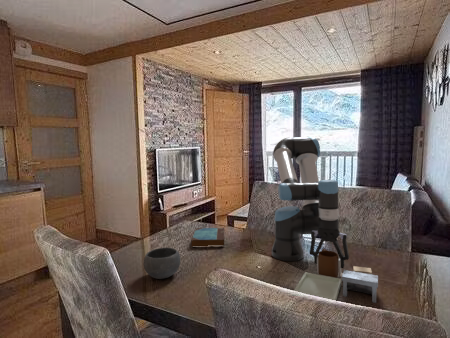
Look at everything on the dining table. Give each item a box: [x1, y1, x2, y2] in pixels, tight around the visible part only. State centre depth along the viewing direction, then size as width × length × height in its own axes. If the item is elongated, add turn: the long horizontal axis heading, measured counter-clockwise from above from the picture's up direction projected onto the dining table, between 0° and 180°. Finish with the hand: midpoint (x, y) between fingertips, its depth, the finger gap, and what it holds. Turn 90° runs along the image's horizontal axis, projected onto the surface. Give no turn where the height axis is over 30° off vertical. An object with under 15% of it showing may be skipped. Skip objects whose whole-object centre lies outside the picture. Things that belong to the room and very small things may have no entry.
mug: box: [317, 248, 339, 278], centre depth 116 cm, size 12×8×9 cm, turn 174°
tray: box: [293, 271, 343, 300], centre depth 103 cm, size 14×17×2 cm
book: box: [191, 227, 225, 247], centre depth 162 cm, size 23×18×5 cm
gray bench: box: [341, 269, 379, 304], centre depth 100 cm, size 11×9×7 cm
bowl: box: [143, 247, 181, 280], centre depth 118 cm, size 15×15×10 cm
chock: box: [352, 265, 373, 275], centre depth 106 cm, size 6×4×6 cm, turn 69°
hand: (329, 273), depth 116 cm, fingers closed on mug, 8 cm apart
